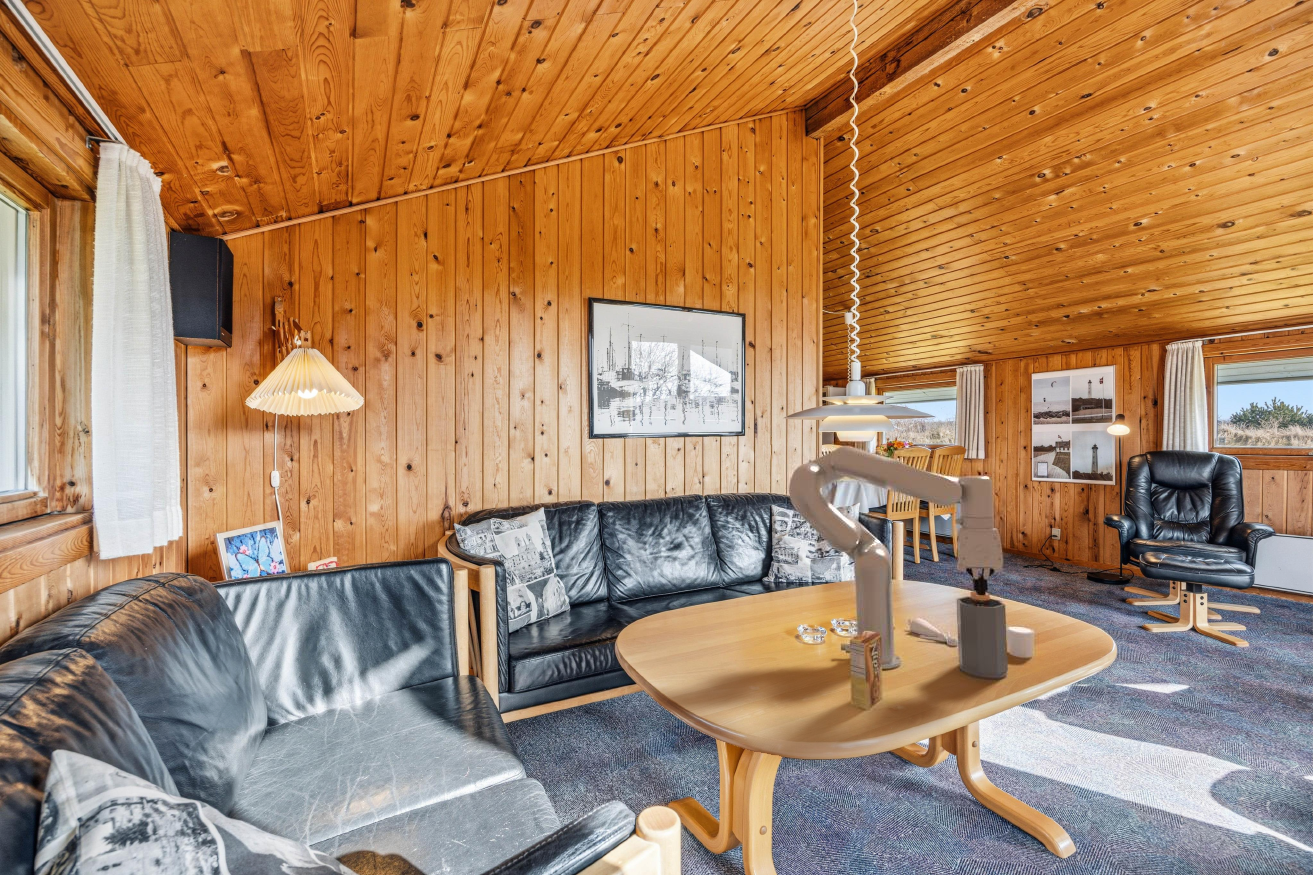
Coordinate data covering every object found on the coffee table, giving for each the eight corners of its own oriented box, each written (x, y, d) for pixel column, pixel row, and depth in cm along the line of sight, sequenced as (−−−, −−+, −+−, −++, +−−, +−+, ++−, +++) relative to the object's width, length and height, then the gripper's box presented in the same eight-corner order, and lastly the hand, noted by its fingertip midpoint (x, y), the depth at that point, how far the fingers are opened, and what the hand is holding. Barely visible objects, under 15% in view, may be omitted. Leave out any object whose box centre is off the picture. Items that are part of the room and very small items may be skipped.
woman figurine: (926, 613, 190) (972, 633, 173) (925, 626, 190) (972, 648, 173) (897, 617, 186) (941, 638, 169) (896, 631, 187) (941, 653, 170)
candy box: (866, 692, 142) (864, 629, 142) (884, 697, 139) (881, 632, 139) (850, 705, 135) (848, 639, 136) (868, 710, 132) (866, 643, 133)
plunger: (968, 662, 150) (965, 596, 150) (961, 650, 158) (958, 588, 158) (1005, 664, 148) (1002, 598, 148) (995, 652, 156) (993, 590, 156)
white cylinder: (1021, 660, 159) (1020, 634, 159) (1000, 651, 166) (999, 626, 166) (1041, 656, 161) (1040, 631, 161) (1020, 648, 168) (1019, 624, 168)
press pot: (964, 677, 149) (962, 606, 149) (953, 657, 163) (950, 592, 163) (1012, 680, 146) (1009, 608, 146) (996, 660, 160) (994, 594, 160)
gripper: (948, 525, 152) (952, 596, 151) (1014, 525, 148) (1017, 598, 147) (943, 521, 159) (946, 589, 159) (1005, 521, 155) (1008, 590, 155)
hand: (980, 593), depth 153 cm, fingers closed
